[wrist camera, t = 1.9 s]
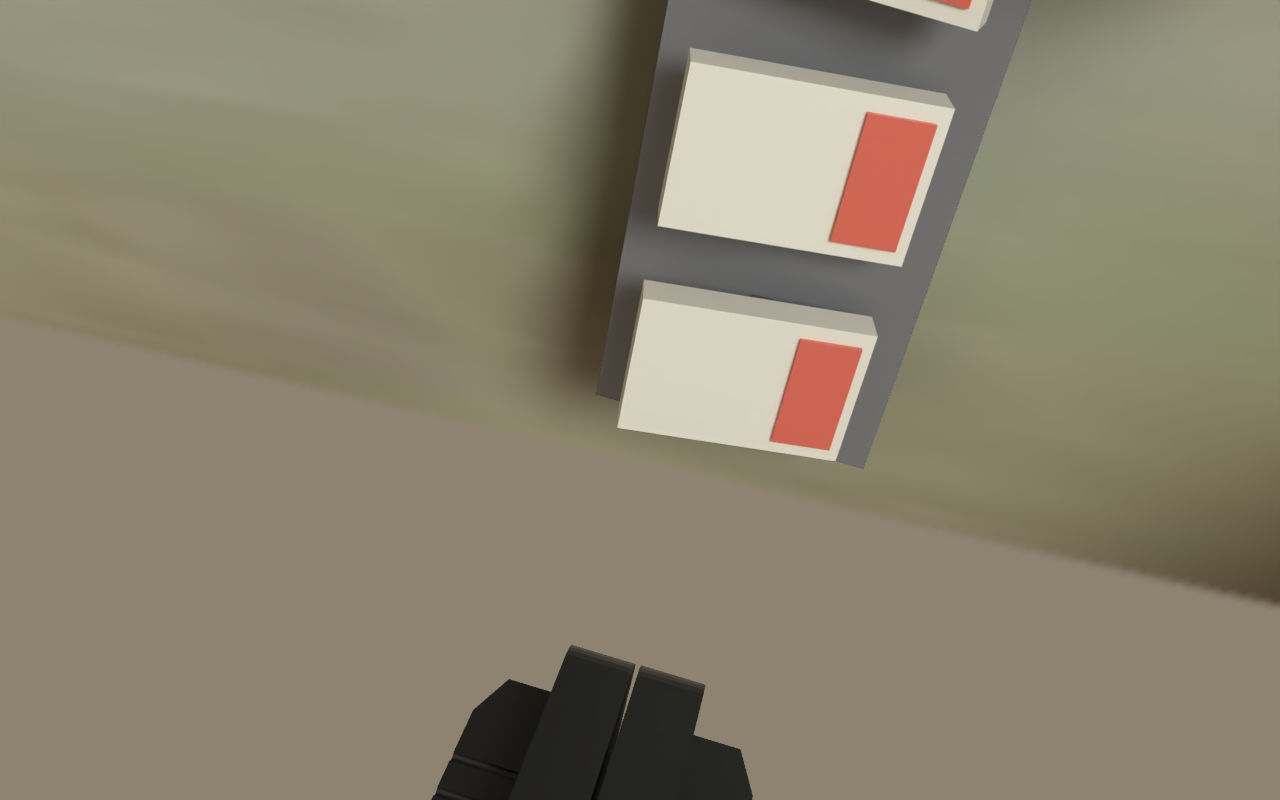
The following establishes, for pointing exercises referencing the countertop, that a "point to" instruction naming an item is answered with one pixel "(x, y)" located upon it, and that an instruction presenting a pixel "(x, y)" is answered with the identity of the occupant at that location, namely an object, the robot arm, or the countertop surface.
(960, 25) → the rocker
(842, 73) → the power strip
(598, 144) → the countertop surface
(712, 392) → the rocker
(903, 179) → the rocker middle
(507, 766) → the robot arm
